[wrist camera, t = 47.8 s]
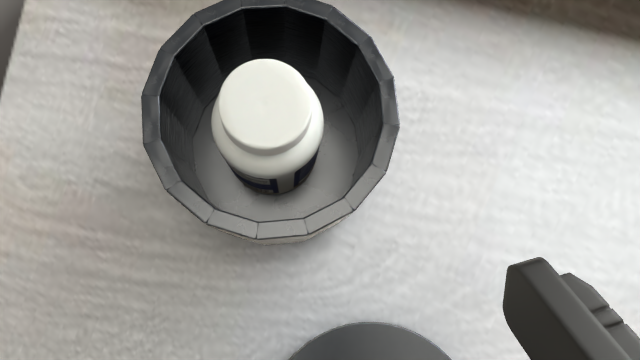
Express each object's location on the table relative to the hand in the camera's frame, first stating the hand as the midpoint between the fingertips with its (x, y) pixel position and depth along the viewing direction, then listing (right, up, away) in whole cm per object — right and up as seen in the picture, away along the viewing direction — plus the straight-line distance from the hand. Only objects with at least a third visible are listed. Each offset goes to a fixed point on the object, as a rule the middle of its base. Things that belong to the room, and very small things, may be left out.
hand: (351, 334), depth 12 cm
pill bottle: (-4, +5, +19) cm, 20 cm away
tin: (-3, +5, +19) cm, 20 cm away
